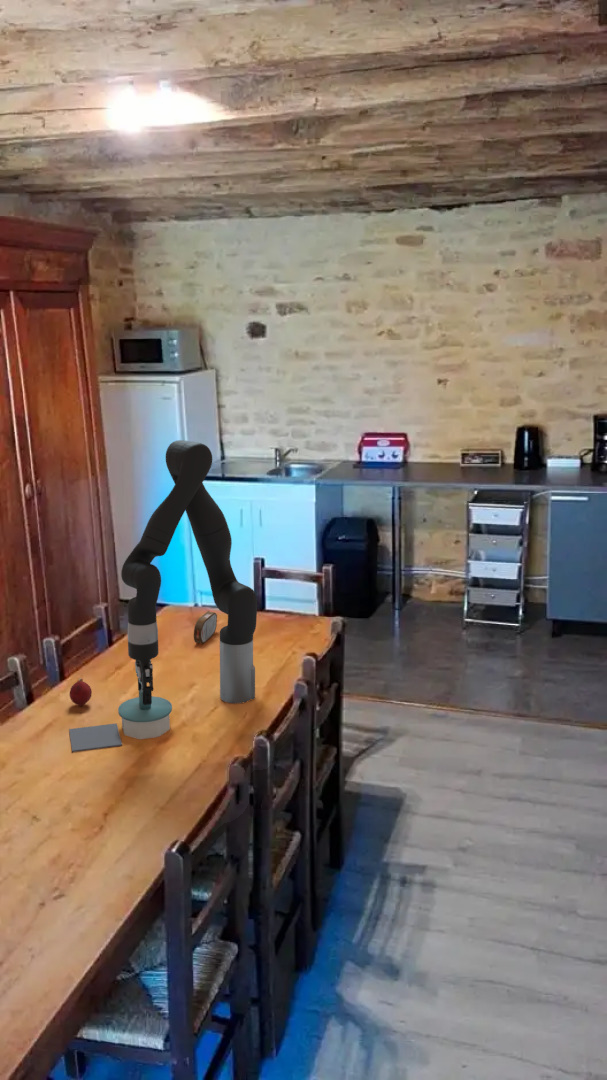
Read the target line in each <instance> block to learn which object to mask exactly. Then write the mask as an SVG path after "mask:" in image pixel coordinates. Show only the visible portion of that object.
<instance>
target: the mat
mask: <svg viewBox="0 0 607 1080" xmlns="http://www.w3.org/2000/svg"><path fill="white" fill-rule="evenodd" d="M68 731H69V737H70V739H69V740H70V746H71V752H72V753H77V752H86V751H93V750H101V749H106V748H107V749H108V748H113V747H115V748H116V747H121V746H123V743H122V740H121V739H122V738H121V735H120V731H119V727H118V723H115V722H114V723H108V724H100V725H93V726H92V725H90V726H84V727H76V728H69V729H68Z"/></svg>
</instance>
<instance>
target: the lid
mask: <svg viewBox="0 0 607 1080" xmlns="http://www.w3.org/2000/svg"><path fill="white" fill-rule="evenodd" d="M172 709H173V705H172V703H171V702H170V701H169V700H168V699H166V698H164V697H159V696H153V695H152V703H151V704H150V705H143V699H142V690H141V689H140V690H138V696H137V697H133V698H130V699H127V700H124V702H122V703H120V705H119V706H118V708H117V712H118V715H119V717H121V719H122V718H123V719H125V720H128V721H133V722H150V721H156V720H159V719H162V718H164V717H166V716H168V715H169V716H170V714H171V713H172V711H173V710H172Z"/></svg>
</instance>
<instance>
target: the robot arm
mask: <svg viewBox="0 0 607 1080" xmlns="http://www.w3.org/2000/svg"><path fill="white" fill-rule="evenodd" d="M165 463H166V467H167V471H168V473H169V475H170V477H171V479H172V480H173V483H174V485H173V488H172V489H171V491H170V492H169V493H168V495H167V496H166V497H165V498H164V499H163V501H162V502H161V503H160V504H159V505H158V506H157V508H156V509H155V510H154V511H153V512H152V514H151V515H150V518H149V519H148V521H147V523H146V526H145V528H144V531H143V533H142V535H141V537H140V540H139V542H138V543H136V545H135V547H134V548H133V549H132V550H131V552H130V554H129V555H128V556H127V557H126V558H125V560H124V562H123V565H122V567H121V573H120V575H121V580H122V582H123V583H124V585H127V587H131V588H133V589H136V593H135V594H136V595H135V596H134V597H132V598H130V599H129V601H128V603H127V621H128V623H127V650H128V652H127V653H128V657H129V658H130V659H131V660H135V662H134V666H135V673H136V676H137V690H138V691H139V690H140V689H141V690H142V699H143V705H150V704H151V703H152V696H153V695H152V692H153V691H154V674H153V673H154V671H153V670H154V667H153V663H152V659H155V658H156V657H158V655H159V629H158V621H157V602H158V599H159V595H160V591H161V587H162V575H161V572H160V570H159V568H158V567H157V566H156V565H154V564H153V563H152V561H153V560H154V559H155V558H157V557H163V556H165V554H166V552H167V551H168V548H169V546H170V544H171V542H172V540H173V537H174V535H175V532H176V529H177V528H178V525H179V523H180V521H181V519H182V517H183V515H184V514H185V513H186V515H187V518H188V522H189V523H190V527H191V530H192V534H193V536H194V540H195V542H196V545H197V547H198V550H199V554H200V556H201V559H202V562H203V564H204V568H205V570H206V572H207V577H208V580H209V581H208V582H209V584H210V590H211V594H212V598H213V602H214V604H215V606H216V608H217V609H218V610H219V611H221V612H222V613H223V614H225V615H227V625H226V626H223V627H222V628H221V629H220V630H219V696H220V697H219V698H220V699H221V701H223V702H225V703H228V704H243V702H244V703H247V701H248V702H250V701H251V700H250V699H252V700H255V699H256V667H255V665H254V634H255V632H256V627H257V617H258V616H257V614H258V599H257V594H256V591H255V590H254V589H253V588H251V587H249V586H248V585H245V584H244V583H241V582H239V581H238V579H237V577H236V575H235V573H234V570H233V568H232V564H231V550H232V544H233V543H232V535H231V531H230V528H229V524H228V522H227V520H226V516H225V515H224V513H223V510H222V508H220V506H219V505H218V503H216V501H215V500H214V498H213V497H212V496H211V495H210V493H209V492H208V490H207V488H206V487H205V485H204V480H206V477H208V476H207V475H208V474H209V472H210V470H211V468H212V466H213V465H212V464H213V454H212V452H211V450H210V448H209V447H208V446H207V445H206V444H204V443H202V442H198V441H197V442H196V441H189V440H185V439H184V440H181V439H180V440H174V441H172V442H171V443H169V445H168V446H167V448H166V452H165ZM148 684H149V685H148ZM254 698H255V699H254ZM249 700H250V701H249Z"/></svg>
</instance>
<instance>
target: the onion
mask: <svg viewBox="0 0 607 1080" xmlns="http://www.w3.org/2000/svg"><path fill="white" fill-rule="evenodd" d="M91 697H92V688H91V686H90V685H89V684H88V683H87V682H86V681H84V679H83V678H82V677H80V678H78V680H77V682H75V683H73V685H72V686H71V687H70V690H69V699H70V700H71V702H72V703H74V704H75V705H77V706H79V707H83V706H85V704H87V703H88V702H89V701H90V700H91Z"/></svg>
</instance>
